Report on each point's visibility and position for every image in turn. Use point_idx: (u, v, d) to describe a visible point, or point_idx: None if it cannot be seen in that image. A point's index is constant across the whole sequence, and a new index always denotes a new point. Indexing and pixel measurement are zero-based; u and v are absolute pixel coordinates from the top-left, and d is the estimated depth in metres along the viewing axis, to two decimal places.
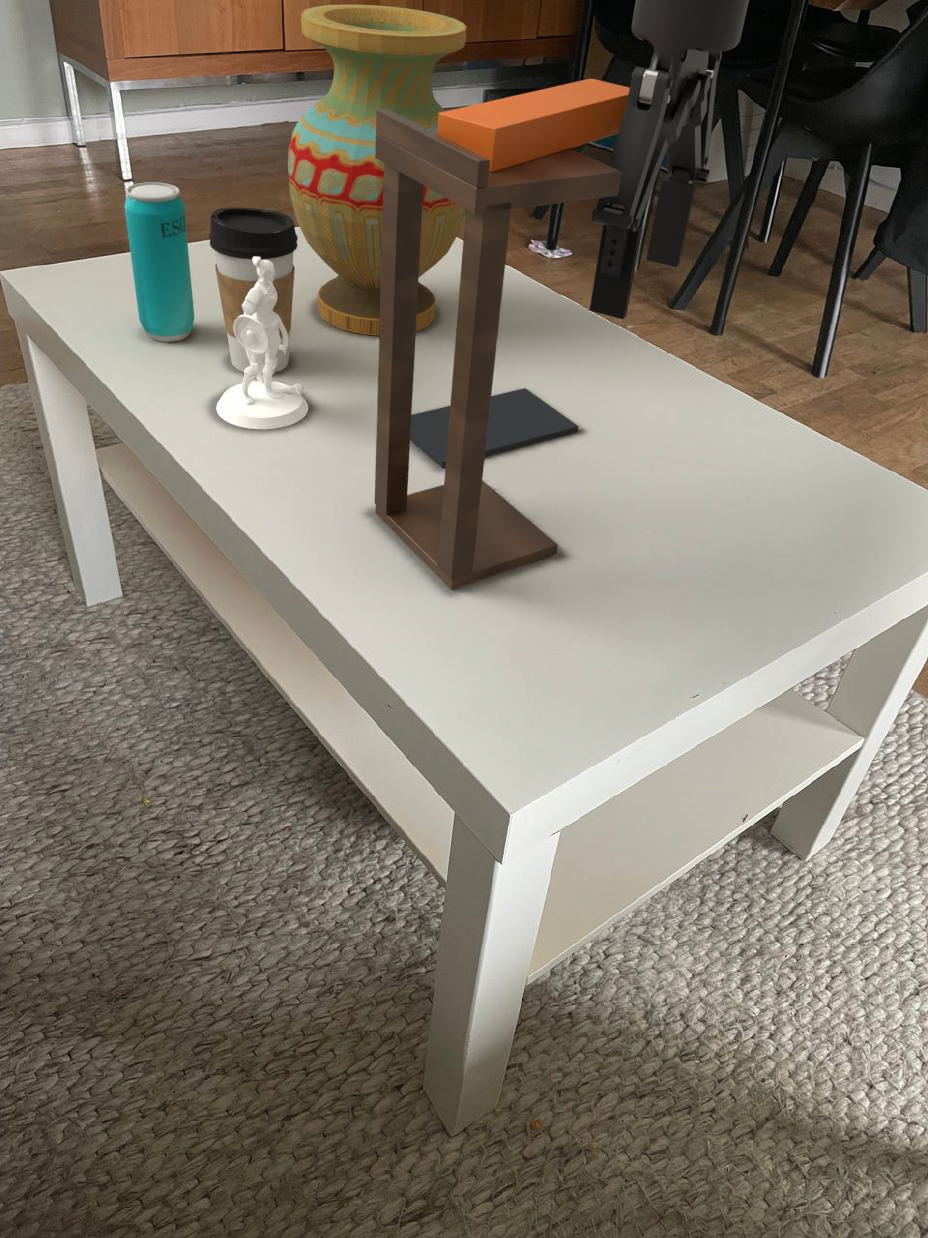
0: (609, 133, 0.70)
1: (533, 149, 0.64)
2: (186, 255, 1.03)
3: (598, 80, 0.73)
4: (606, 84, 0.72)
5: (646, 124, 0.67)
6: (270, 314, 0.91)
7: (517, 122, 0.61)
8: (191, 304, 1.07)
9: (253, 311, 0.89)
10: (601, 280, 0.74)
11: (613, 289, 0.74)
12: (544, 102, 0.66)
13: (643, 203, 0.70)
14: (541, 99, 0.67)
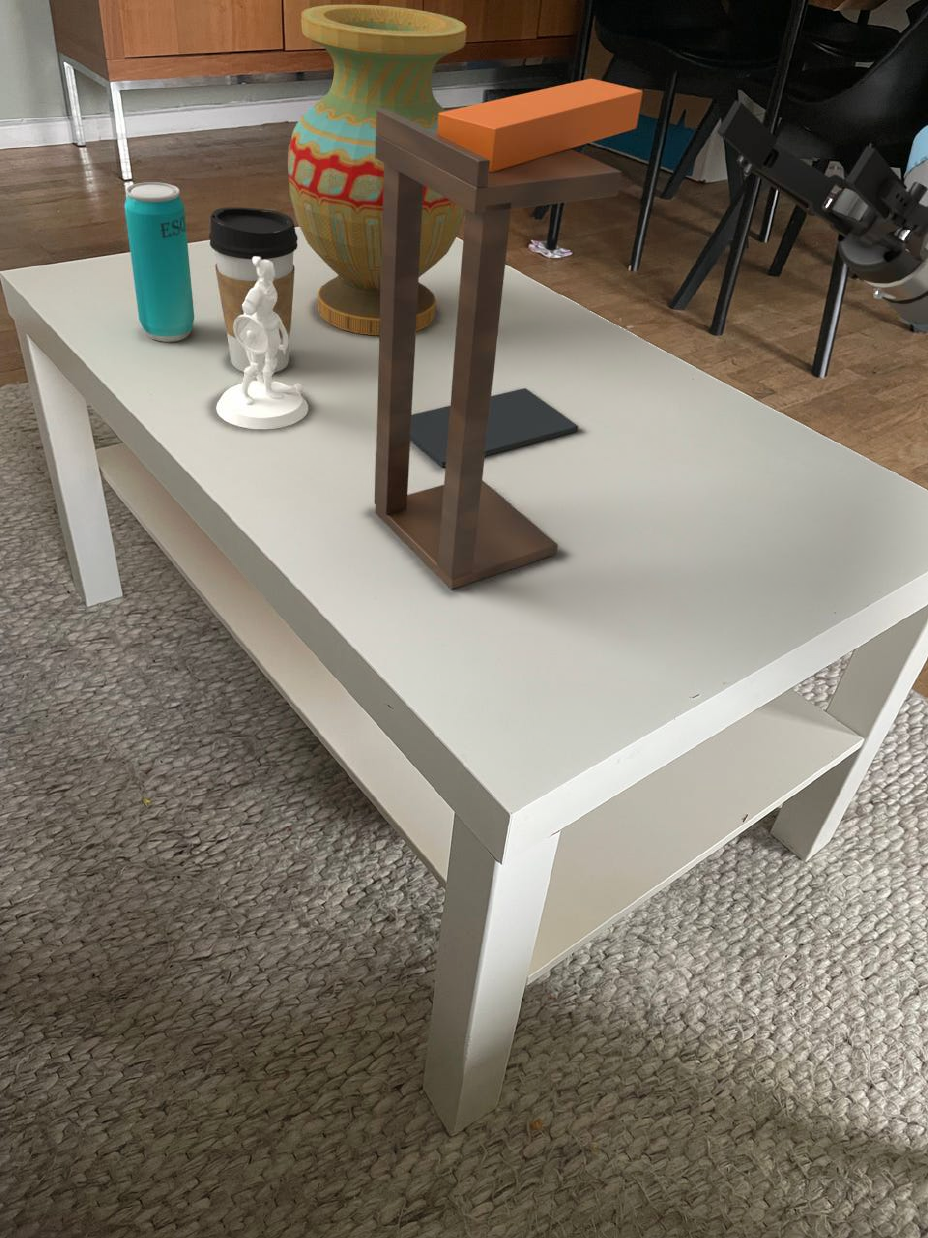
0: (609, 133, 0.70)
1: (533, 149, 0.64)
2: (186, 255, 1.03)
3: (598, 80, 0.73)
4: (606, 84, 0.72)
5: None
6: (270, 314, 0.91)
7: (517, 122, 0.61)
8: (191, 304, 1.07)
9: (253, 311, 0.89)
10: None
11: None
12: (544, 102, 0.66)
13: None
14: (541, 99, 0.67)
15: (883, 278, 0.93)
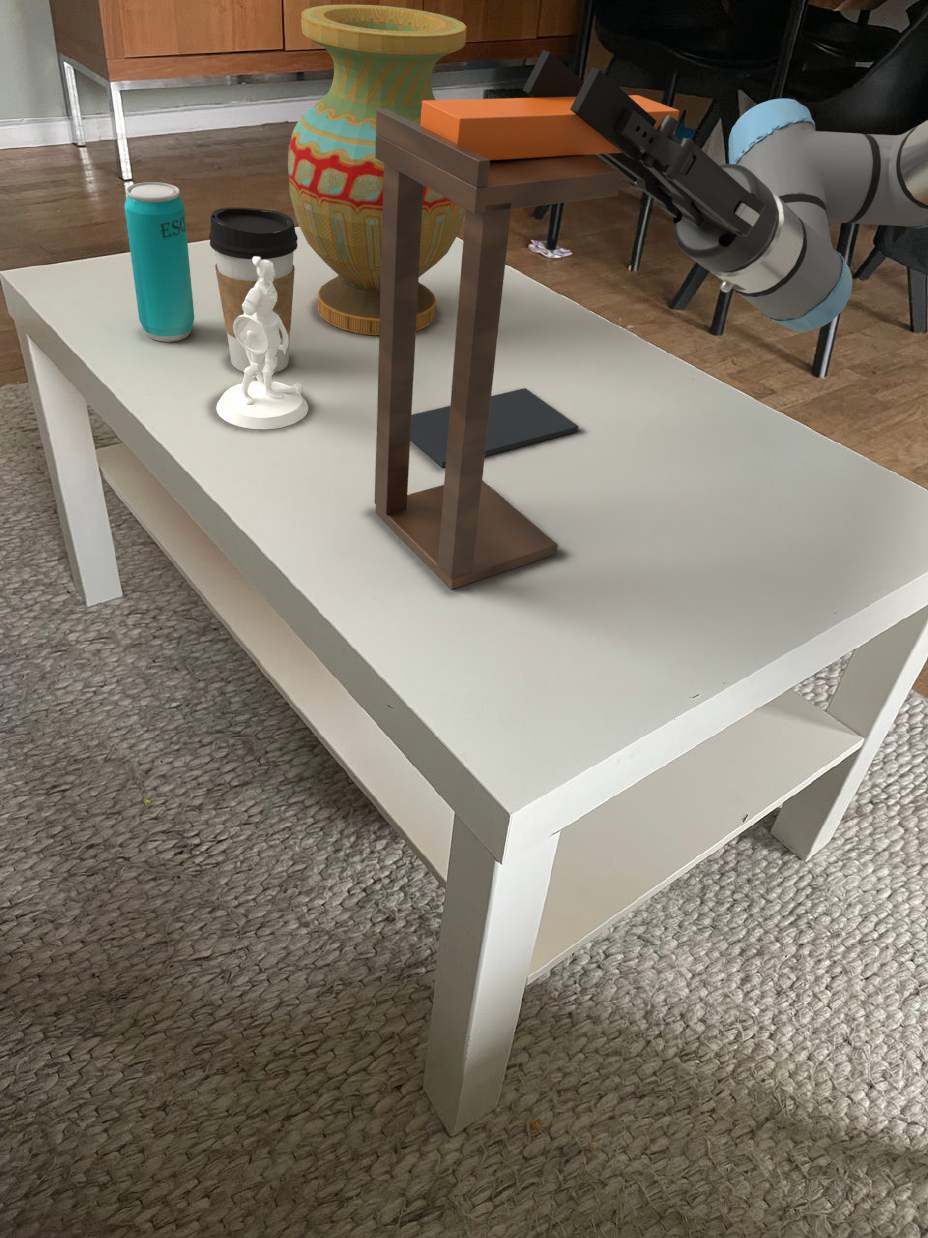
0: None
1: (514, 147, 0.63)
2: (186, 255, 1.03)
3: (643, 97, 0.71)
4: (646, 101, 0.70)
5: None
6: (270, 314, 0.91)
7: (492, 116, 0.61)
8: (191, 304, 1.07)
9: (253, 311, 0.89)
10: None
11: None
12: (550, 106, 0.65)
13: None
14: (551, 103, 0.66)
15: (723, 266, 0.80)
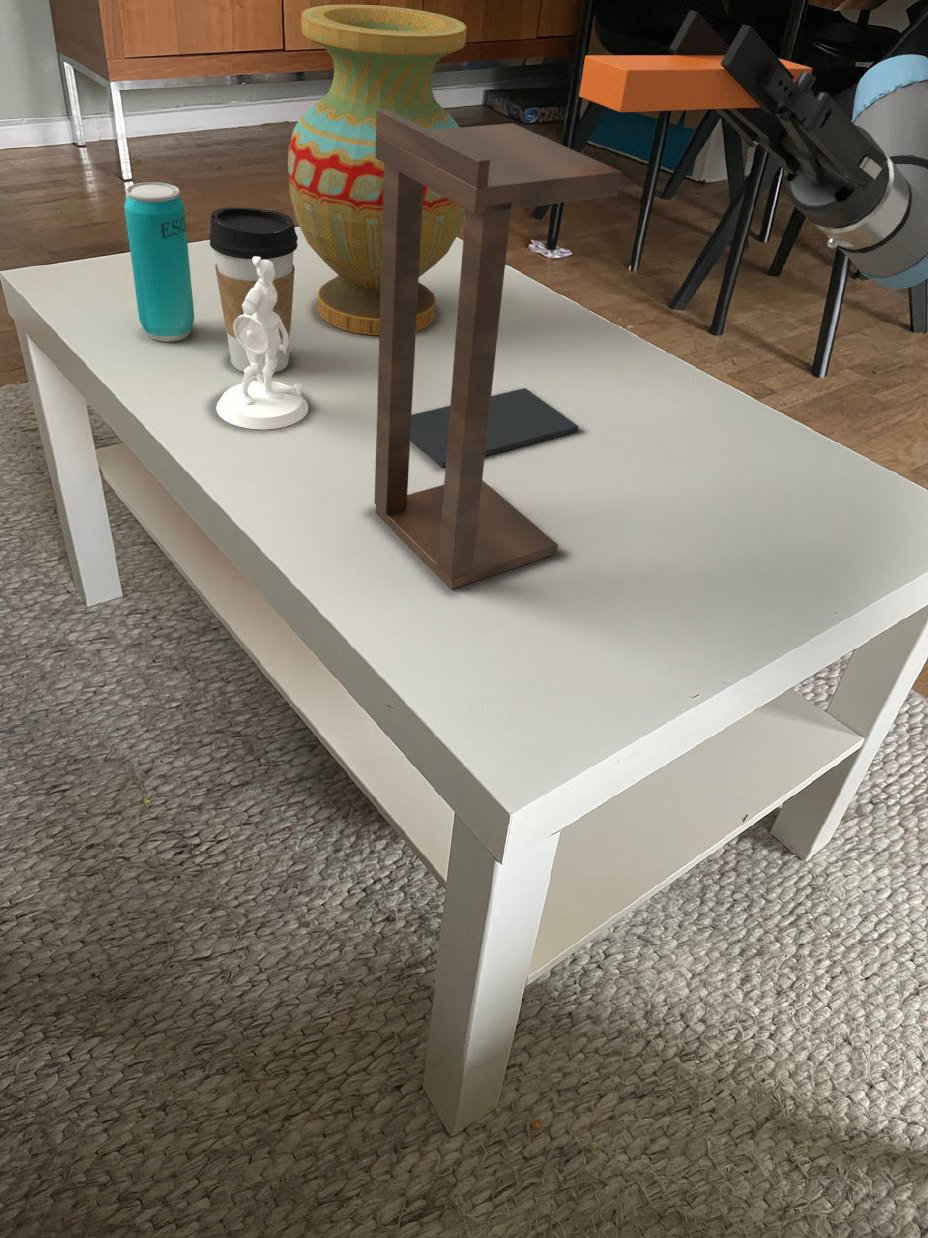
0: None
1: (670, 99, 0.68)
2: (186, 255, 1.03)
3: None
4: None
5: None
6: (270, 314, 0.91)
7: (654, 69, 0.66)
8: (191, 304, 1.07)
9: (253, 311, 0.89)
10: None
11: None
12: (698, 62, 0.70)
13: None
14: (698, 60, 0.70)
15: (836, 221, 0.85)
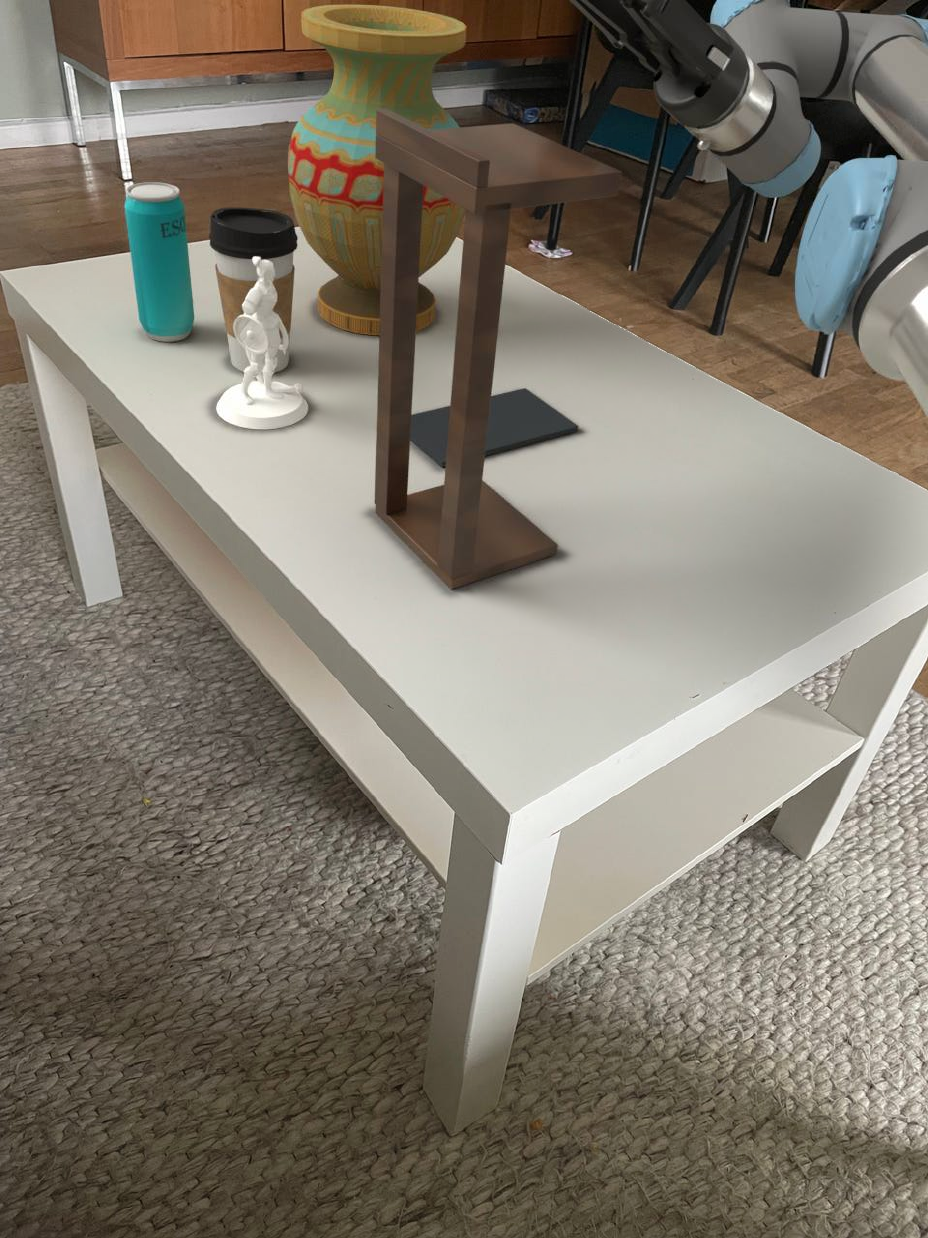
0: None
1: None
2: (186, 255, 1.03)
3: None
4: None
5: None
6: (270, 314, 0.91)
7: None
8: (191, 304, 1.07)
9: (253, 311, 0.89)
10: None
11: None
12: None
13: None
14: None
15: (699, 119, 0.88)
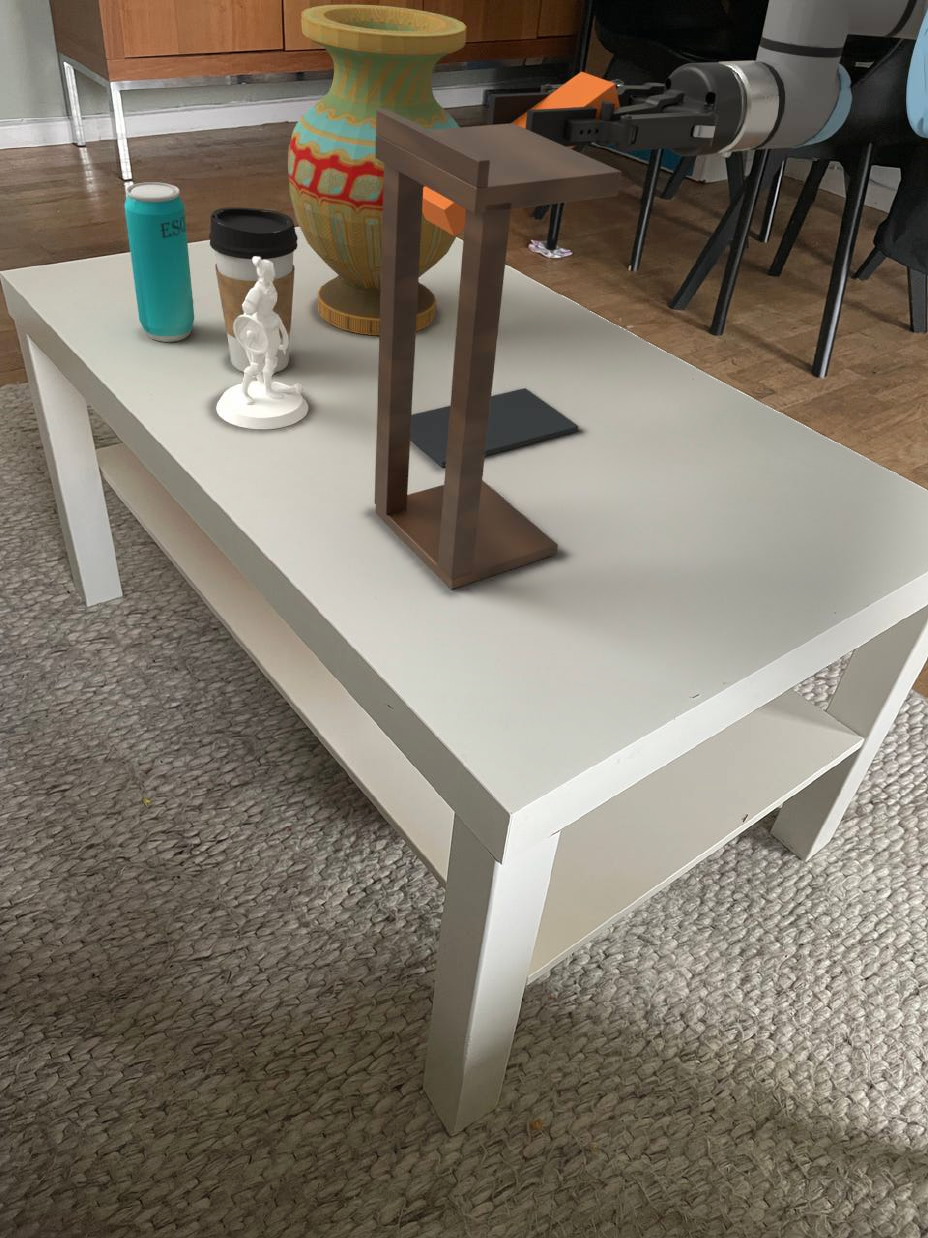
0: None
1: None
2: (186, 255, 1.03)
3: (586, 74, 0.84)
4: (588, 81, 0.83)
5: None
6: (270, 314, 0.91)
7: None
8: (191, 304, 1.07)
9: (253, 311, 0.89)
10: None
11: None
12: None
13: None
14: None
15: (710, 152, 0.92)
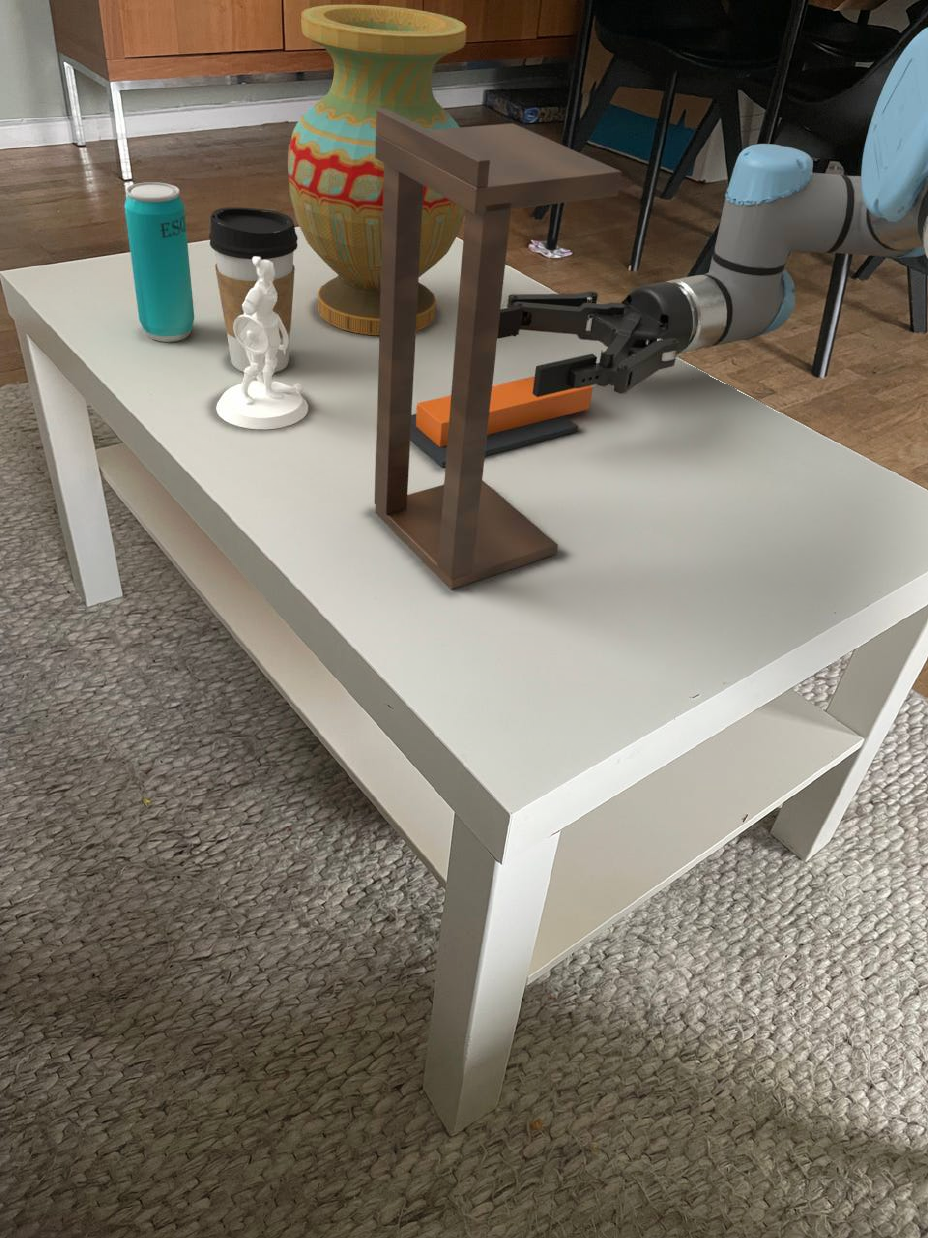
0: (558, 415, 1.00)
1: None
2: (186, 255, 1.03)
3: None
4: None
5: None
6: (270, 314, 0.91)
7: None
8: (191, 304, 1.07)
9: (253, 311, 0.89)
10: None
11: None
12: (503, 396, 0.97)
13: (532, 304, 1.01)
14: (504, 392, 0.98)
15: None
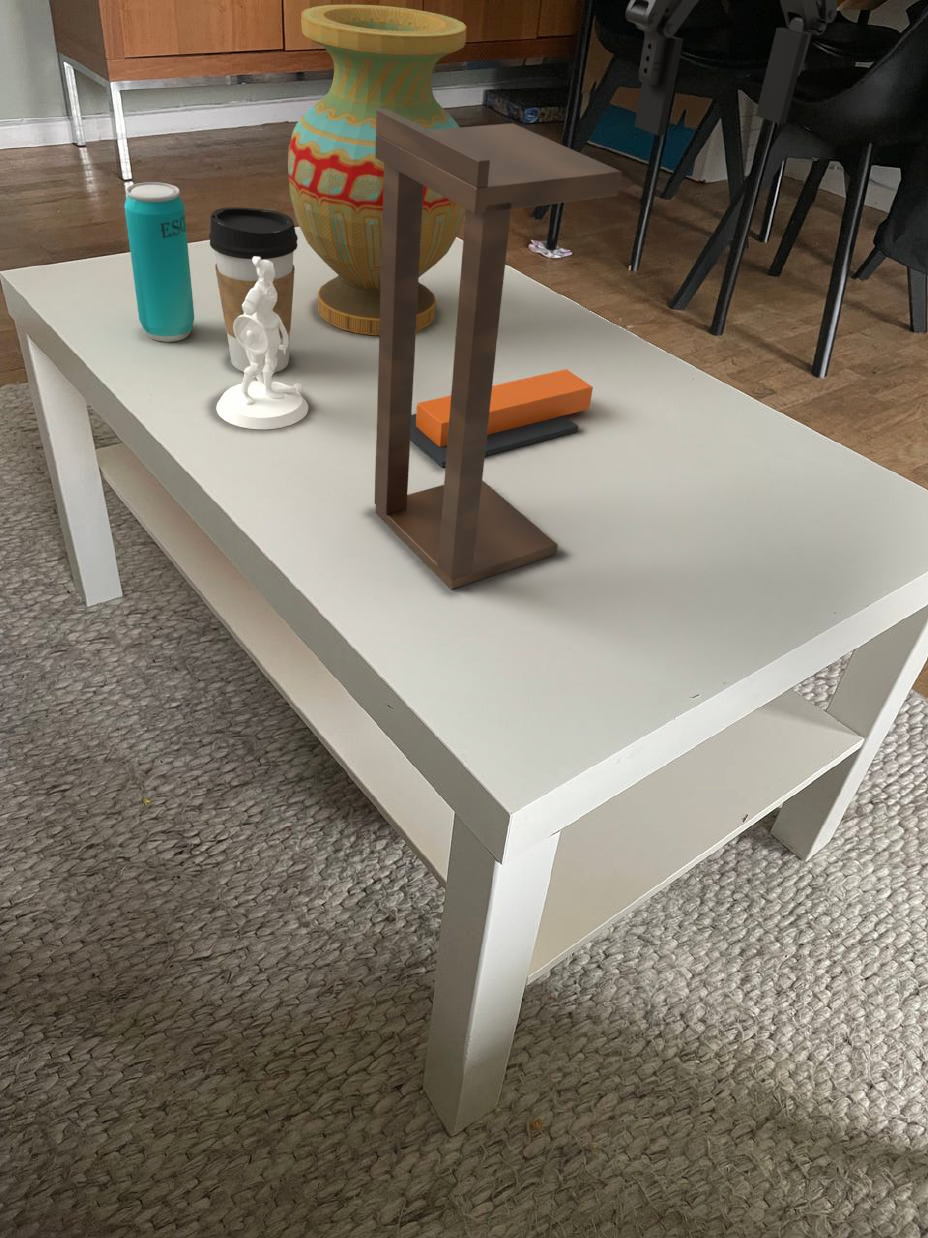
0: (558, 415, 1.00)
1: None
2: (186, 255, 1.03)
3: (569, 372, 1.03)
4: (571, 377, 1.02)
5: None
6: (270, 314, 0.91)
7: None
8: (191, 304, 1.07)
9: (253, 311, 0.89)
10: (645, 93, 0.77)
11: (653, 103, 0.76)
12: (503, 396, 0.97)
13: (681, 9, 0.72)
14: (504, 392, 0.98)
15: None
